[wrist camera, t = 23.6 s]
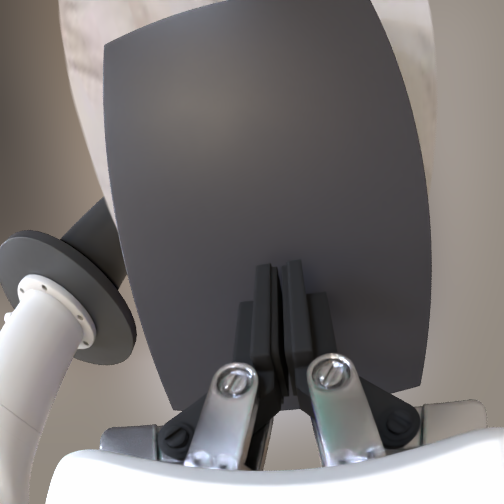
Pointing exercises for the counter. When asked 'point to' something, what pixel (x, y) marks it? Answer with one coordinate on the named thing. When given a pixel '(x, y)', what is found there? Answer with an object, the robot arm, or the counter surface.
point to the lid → (268, 182)
